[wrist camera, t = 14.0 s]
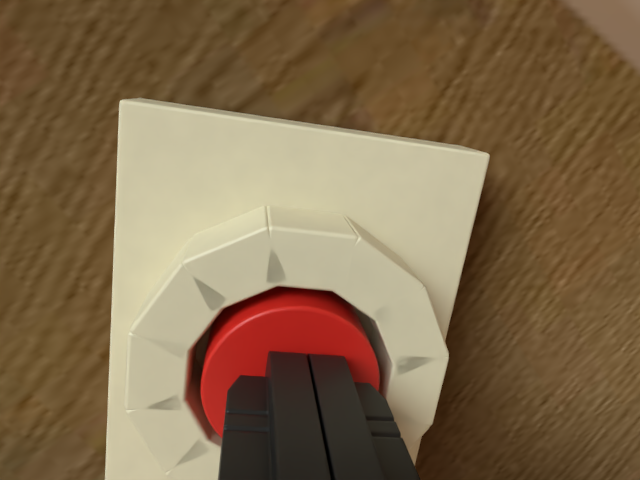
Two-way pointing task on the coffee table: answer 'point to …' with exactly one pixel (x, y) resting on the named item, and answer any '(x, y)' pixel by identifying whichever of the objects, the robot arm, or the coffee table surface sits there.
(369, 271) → the box
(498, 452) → the coffee table surface
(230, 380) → the stop button
